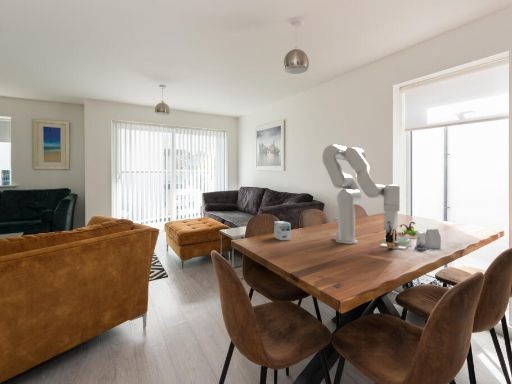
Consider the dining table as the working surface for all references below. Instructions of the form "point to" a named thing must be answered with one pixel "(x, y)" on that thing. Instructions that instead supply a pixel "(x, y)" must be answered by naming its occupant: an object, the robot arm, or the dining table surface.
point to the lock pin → (393, 240)
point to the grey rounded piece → (420, 241)
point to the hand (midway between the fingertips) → (391, 241)
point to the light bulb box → (282, 230)
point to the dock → (398, 243)
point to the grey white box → (432, 238)
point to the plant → (408, 232)
